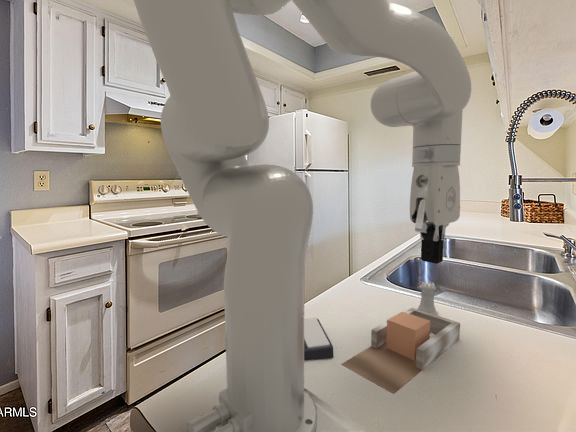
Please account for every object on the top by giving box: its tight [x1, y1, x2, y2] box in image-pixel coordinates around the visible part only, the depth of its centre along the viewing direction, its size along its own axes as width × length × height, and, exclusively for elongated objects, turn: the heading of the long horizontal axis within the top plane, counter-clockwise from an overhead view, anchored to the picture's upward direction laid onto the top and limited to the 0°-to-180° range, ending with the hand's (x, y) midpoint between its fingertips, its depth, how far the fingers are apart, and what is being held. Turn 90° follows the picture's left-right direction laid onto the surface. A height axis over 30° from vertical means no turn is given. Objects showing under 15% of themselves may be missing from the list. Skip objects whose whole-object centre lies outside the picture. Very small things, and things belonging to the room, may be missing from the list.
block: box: [386, 311, 431, 360], centre depth 53 cm, size 5×5×5 cm
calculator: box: [304, 317, 335, 361], centre depth 55 cm, size 11×4×15 cm
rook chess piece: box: [416, 280, 438, 316], centre depth 67 cm, size 4×4×8 cm
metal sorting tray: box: [340, 307, 461, 395], centre depth 52 cm, size 22×9×4 cm, turn 131°
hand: (431, 261), depth 56 cm, fingers closed
